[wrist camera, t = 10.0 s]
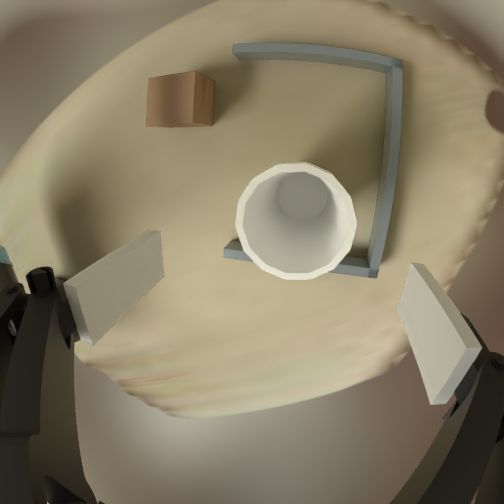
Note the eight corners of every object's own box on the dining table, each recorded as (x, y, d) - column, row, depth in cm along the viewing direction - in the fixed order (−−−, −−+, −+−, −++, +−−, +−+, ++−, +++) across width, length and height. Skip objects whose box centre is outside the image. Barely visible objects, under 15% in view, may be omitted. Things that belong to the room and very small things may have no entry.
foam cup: (356, 201, 31) (379, 234, 19) (299, 246, 35) (290, 299, 23) (304, 141, 30) (298, 136, 18) (249, 191, 34) (212, 217, 22)
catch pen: (230, 249, 37) (223, 257, 35) (239, 51, 27) (232, 44, 24) (372, 268, 34) (376, 278, 31) (395, 66, 24) (402, 60, 21)
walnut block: (170, 127, 33) (146, 126, 27) (173, 86, 31) (148, 78, 25) (212, 125, 32) (192, 122, 26) (214, 81, 29) (195, 71, 24)
